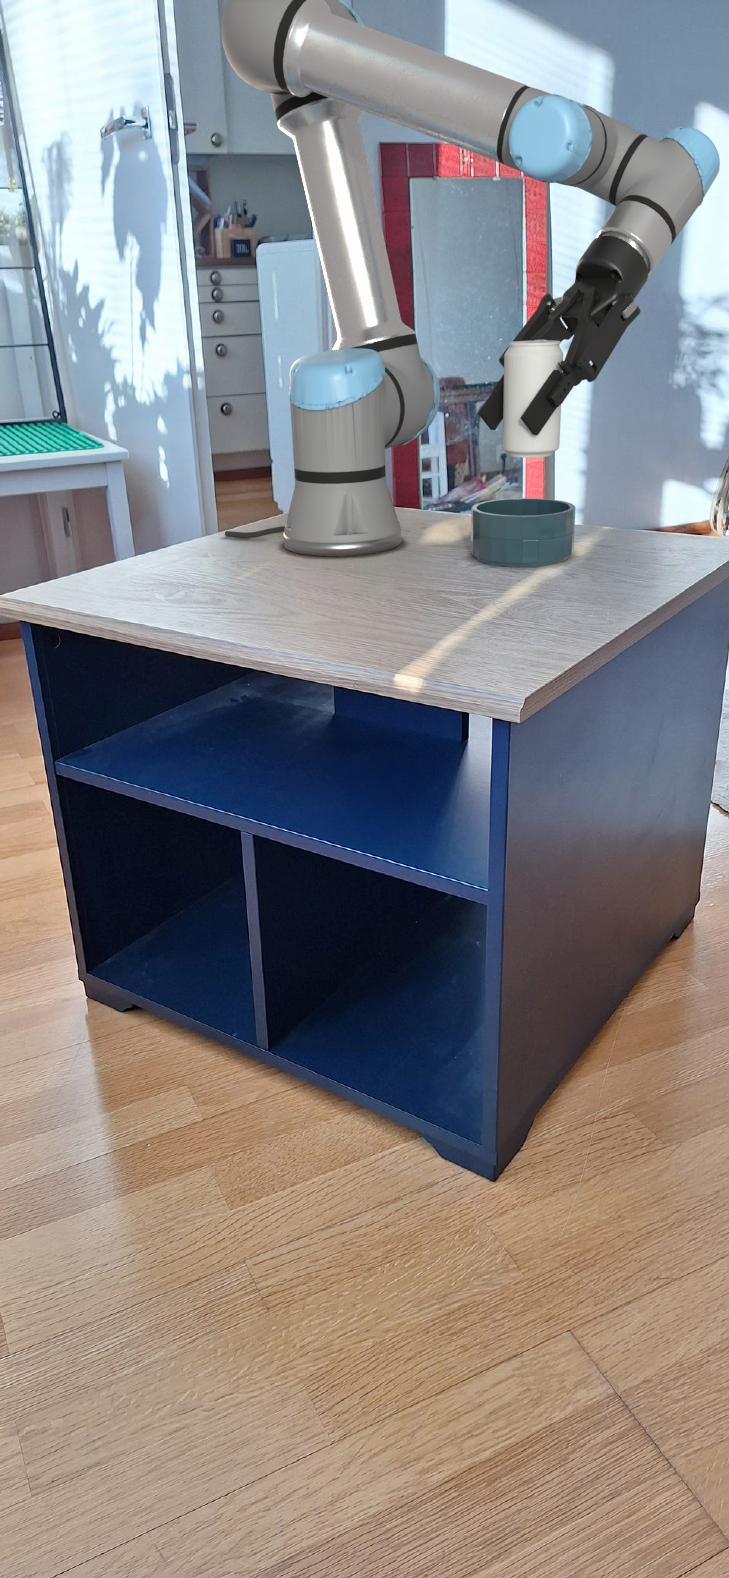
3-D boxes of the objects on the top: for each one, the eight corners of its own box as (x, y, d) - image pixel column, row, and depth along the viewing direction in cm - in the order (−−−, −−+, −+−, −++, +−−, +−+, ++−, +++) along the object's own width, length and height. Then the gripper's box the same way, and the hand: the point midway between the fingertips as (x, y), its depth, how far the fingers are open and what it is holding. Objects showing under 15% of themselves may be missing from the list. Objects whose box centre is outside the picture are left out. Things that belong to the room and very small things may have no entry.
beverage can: (491, 456, 126) (492, 342, 121) (523, 449, 130) (526, 338, 125) (538, 460, 122) (542, 342, 117) (570, 453, 126) (575, 339, 121)
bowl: (453, 561, 134) (453, 511, 132) (501, 542, 143) (502, 495, 141) (544, 572, 128) (546, 519, 125) (589, 552, 137) (591, 502, 134)
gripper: (704, 282, 119) (586, 455, 118) (576, 285, 134) (469, 439, 132) (674, 226, 114) (551, 406, 113) (545, 236, 129) (434, 395, 128)
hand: (507, 424), depth 123 cm, fingers closed on beverage can, 6 cm apart
